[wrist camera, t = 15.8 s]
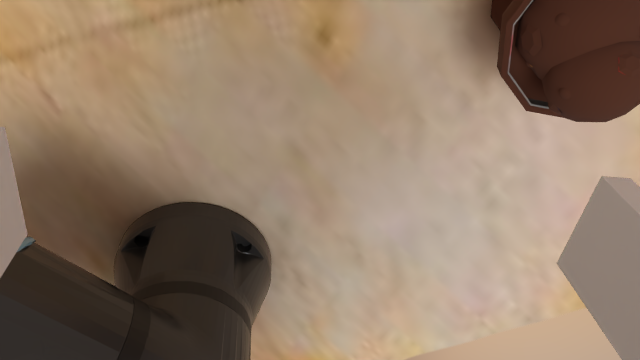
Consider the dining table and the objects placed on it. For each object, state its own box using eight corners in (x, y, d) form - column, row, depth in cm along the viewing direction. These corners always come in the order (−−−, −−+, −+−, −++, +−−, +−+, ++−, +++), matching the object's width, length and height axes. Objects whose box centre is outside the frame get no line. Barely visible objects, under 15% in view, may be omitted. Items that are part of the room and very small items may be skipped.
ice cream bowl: (603, 33, 43) (741, 112, 30) (473, 87, 44) (552, 183, 32) (587, -101, 37) (749, -71, 24) (439, -33, 39) (520, 27, 26)
